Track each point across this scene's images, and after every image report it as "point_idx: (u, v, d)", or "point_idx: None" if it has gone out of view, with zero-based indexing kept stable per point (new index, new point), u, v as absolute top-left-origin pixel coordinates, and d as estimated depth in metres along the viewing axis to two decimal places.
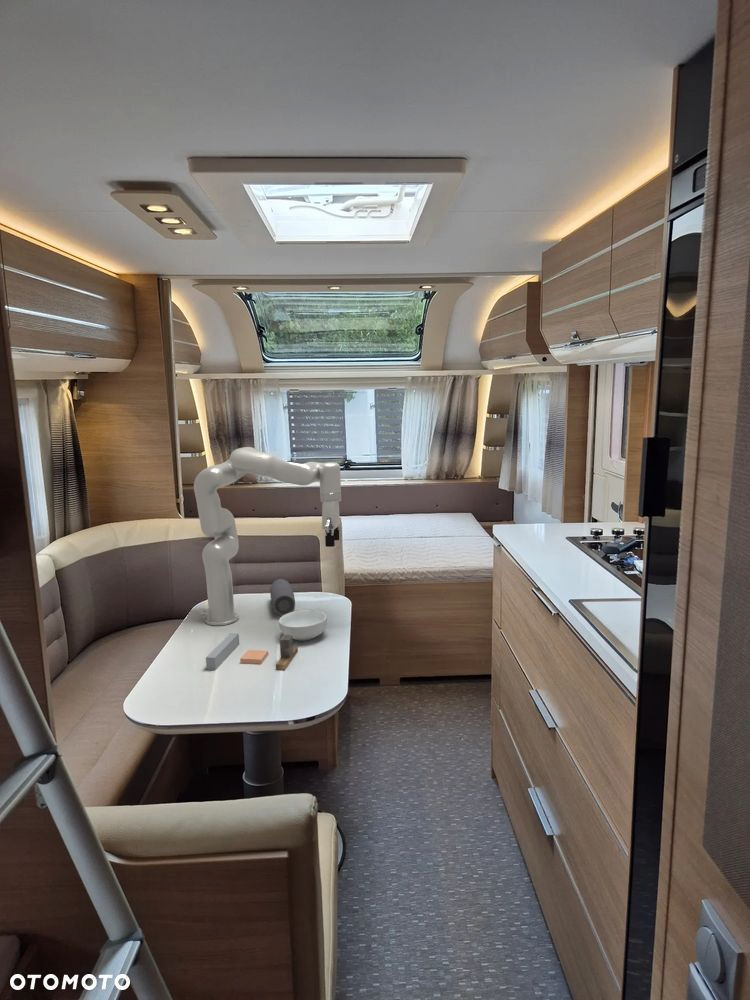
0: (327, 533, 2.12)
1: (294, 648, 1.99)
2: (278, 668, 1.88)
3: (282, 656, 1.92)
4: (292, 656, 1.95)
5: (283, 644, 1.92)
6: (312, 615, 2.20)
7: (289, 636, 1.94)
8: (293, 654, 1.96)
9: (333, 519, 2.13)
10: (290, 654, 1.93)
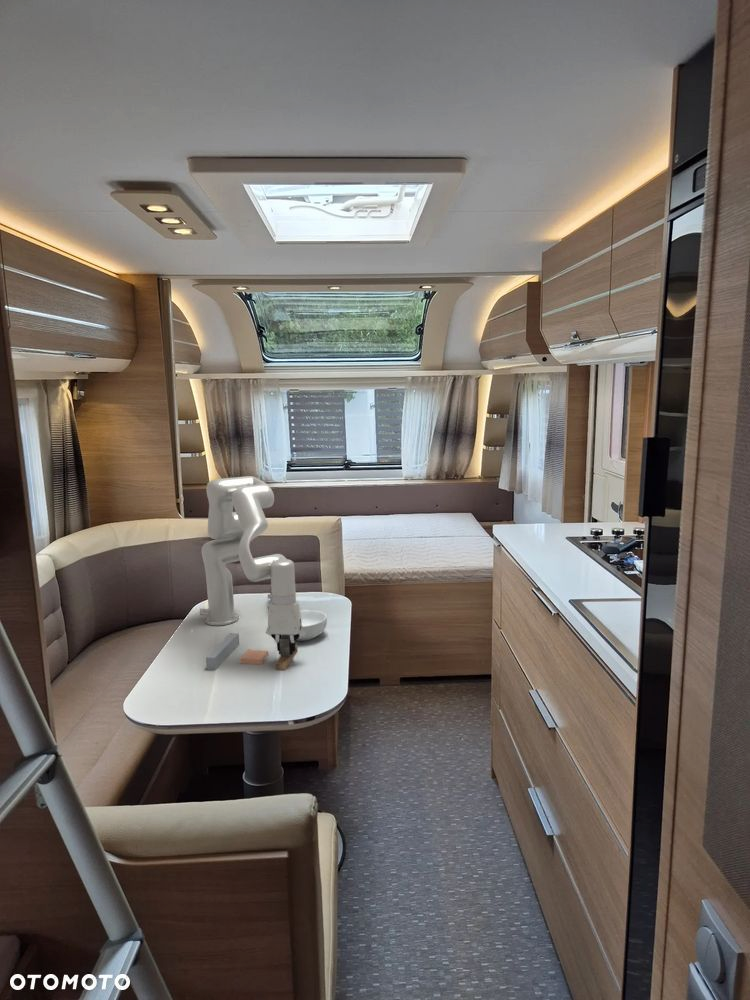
0: (297, 638, 1.92)
1: None
2: (278, 667, 1.88)
3: (282, 655, 1.92)
4: (292, 655, 1.95)
5: (282, 643, 1.92)
6: (312, 615, 2.20)
7: (289, 635, 1.94)
8: (293, 653, 1.96)
9: None
10: None
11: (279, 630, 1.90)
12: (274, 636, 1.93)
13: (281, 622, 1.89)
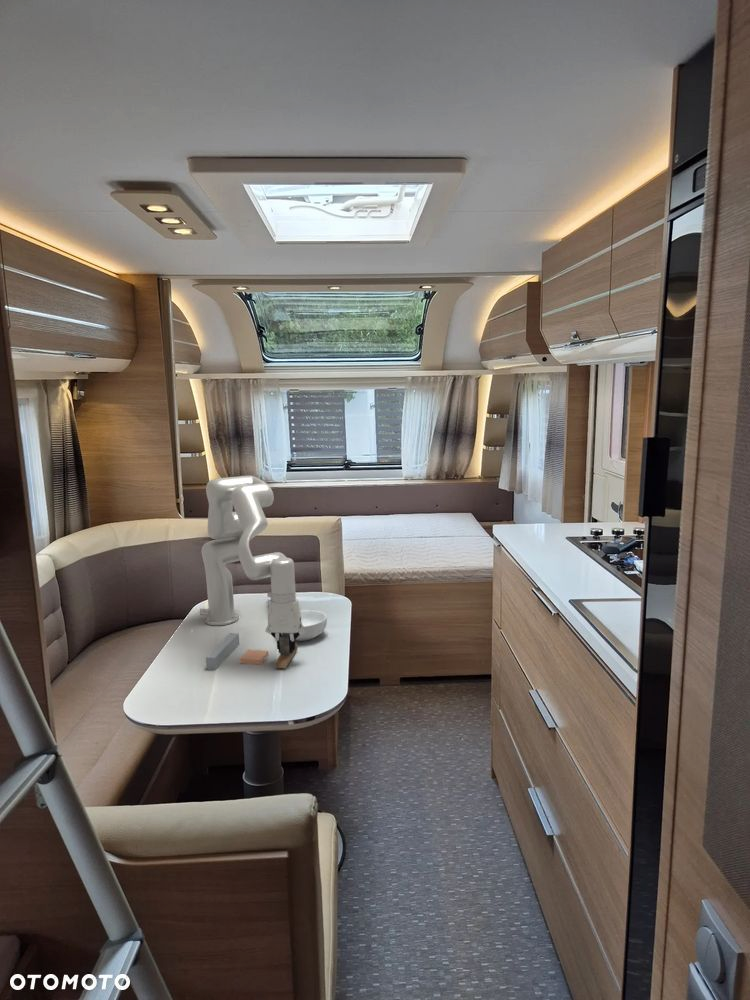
0: (297, 636, 1.92)
1: None
2: (278, 666, 1.88)
3: (282, 654, 1.92)
4: (292, 654, 1.95)
5: (282, 642, 1.91)
6: (312, 615, 2.20)
7: (289, 634, 1.94)
8: (293, 652, 1.96)
9: None
10: None
11: (279, 628, 1.90)
12: (274, 634, 1.93)
13: (281, 620, 1.89)
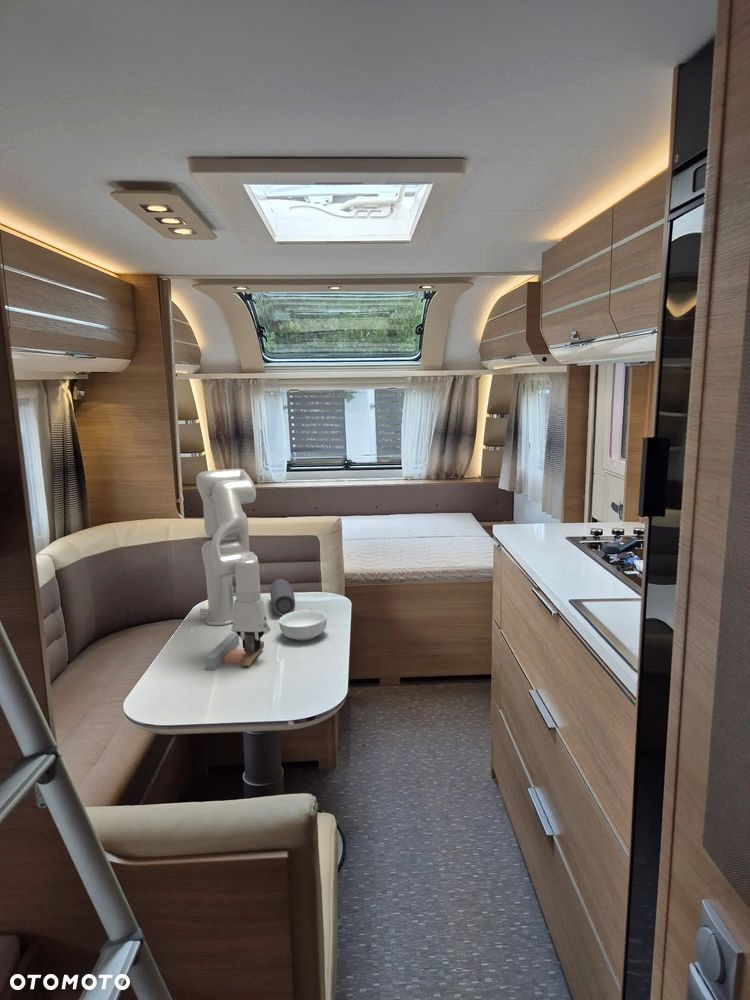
0: (262, 635, 1.94)
1: None
2: (242, 663, 1.89)
3: (247, 651, 1.94)
4: (257, 651, 1.97)
5: (247, 639, 1.93)
6: (312, 615, 2.20)
7: None
8: None
9: None
10: None
11: (244, 627, 1.92)
12: (239, 633, 1.95)
13: (246, 619, 1.91)
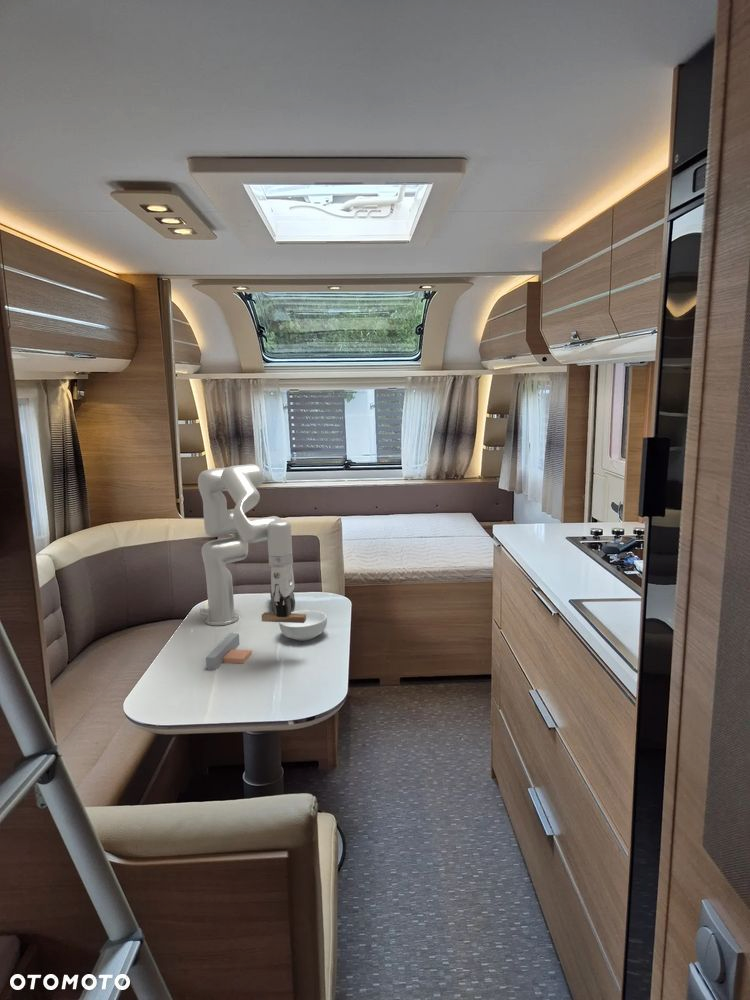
0: None
1: (268, 613, 1.96)
2: (304, 620, 1.93)
3: (289, 614, 1.93)
4: None
5: (288, 602, 1.93)
6: (312, 615, 2.20)
7: None
8: None
9: None
10: None
11: (289, 589, 1.91)
12: (281, 601, 1.90)
13: (290, 580, 1.92)
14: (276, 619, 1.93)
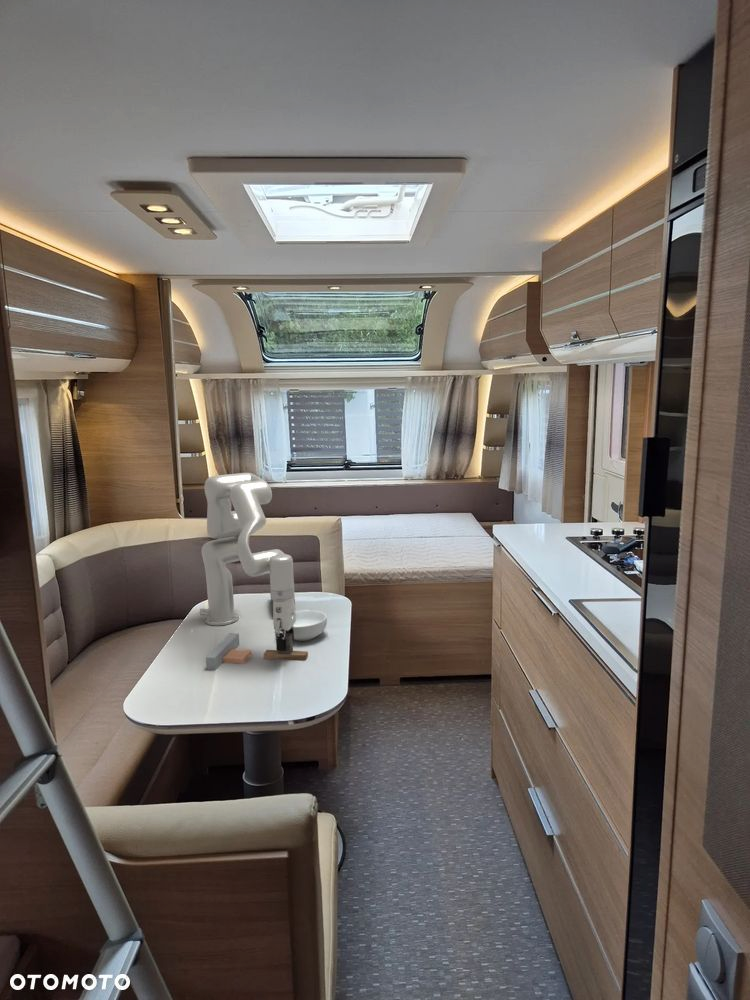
0: None
1: (271, 650, 1.98)
2: (306, 657, 1.95)
3: (290, 652, 1.95)
4: None
5: (290, 640, 1.95)
6: (312, 615, 2.20)
7: (282, 633, 1.96)
8: None
9: None
10: None
11: (291, 623, 1.93)
12: (281, 635, 1.89)
13: (292, 614, 1.93)
14: (279, 657, 1.95)
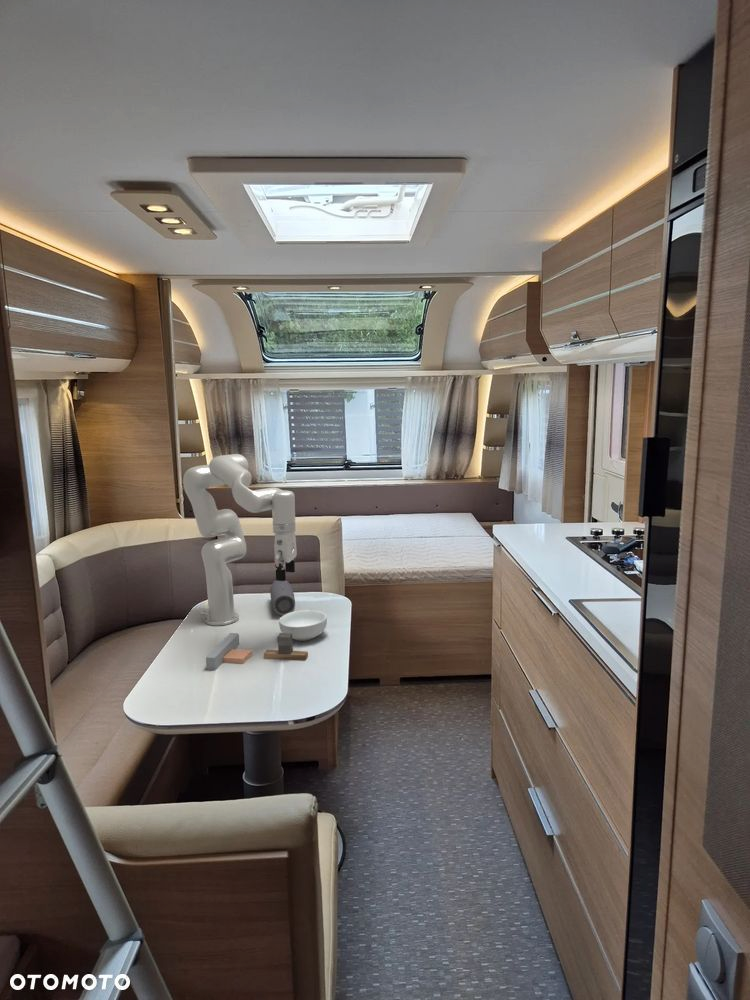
0: None
1: (271, 650, 1.98)
2: (306, 658, 1.95)
3: (290, 652, 1.95)
4: None
5: (290, 640, 1.95)
6: (312, 615, 2.20)
7: (282, 633, 1.96)
8: None
9: None
10: None
11: (291, 556, 2.03)
12: (281, 565, 1.98)
13: (292, 548, 2.03)
14: (278, 657, 1.95)
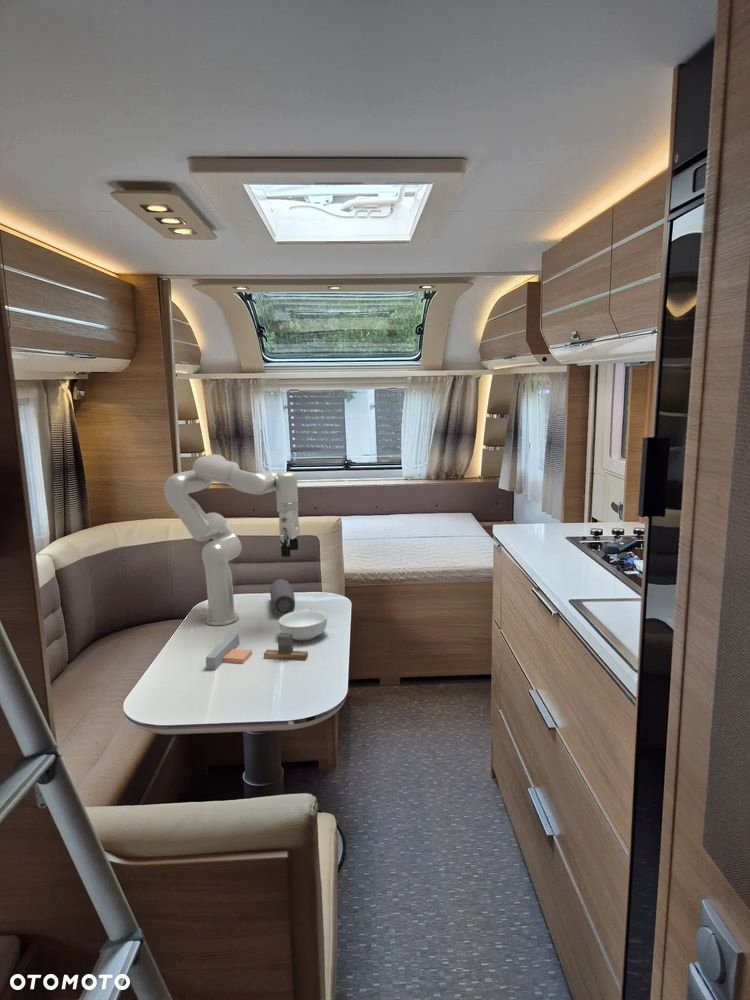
0: None
1: (271, 650, 1.98)
2: (306, 658, 1.95)
3: (290, 652, 1.95)
4: None
5: (290, 640, 1.95)
6: (312, 615, 2.20)
7: (283, 633, 1.96)
8: None
9: None
10: None
11: (295, 533, 2.15)
12: (286, 541, 2.11)
13: (296, 525, 2.16)
14: (278, 657, 1.95)
